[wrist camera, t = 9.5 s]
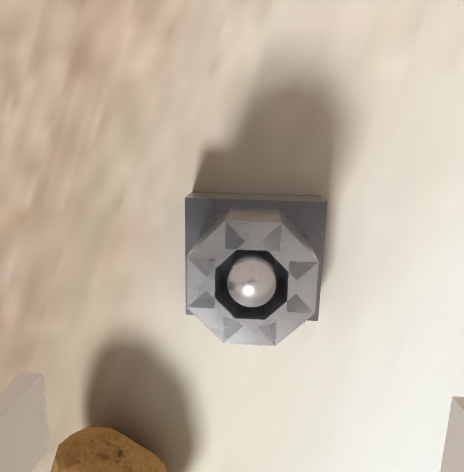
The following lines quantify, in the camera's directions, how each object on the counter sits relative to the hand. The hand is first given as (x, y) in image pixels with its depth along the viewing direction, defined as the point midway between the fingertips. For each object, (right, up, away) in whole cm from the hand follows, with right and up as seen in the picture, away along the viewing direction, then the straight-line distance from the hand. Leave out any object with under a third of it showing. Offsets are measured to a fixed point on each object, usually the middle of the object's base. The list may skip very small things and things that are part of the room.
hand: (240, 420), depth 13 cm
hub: (+1, +4, +17) cm, 18 cm away
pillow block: (+1, +5, +20) cm, 21 cm away
